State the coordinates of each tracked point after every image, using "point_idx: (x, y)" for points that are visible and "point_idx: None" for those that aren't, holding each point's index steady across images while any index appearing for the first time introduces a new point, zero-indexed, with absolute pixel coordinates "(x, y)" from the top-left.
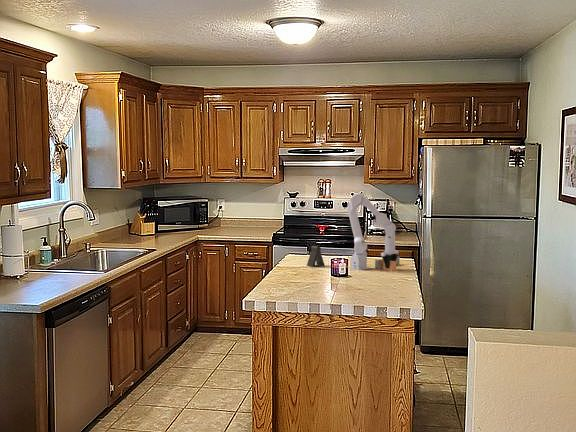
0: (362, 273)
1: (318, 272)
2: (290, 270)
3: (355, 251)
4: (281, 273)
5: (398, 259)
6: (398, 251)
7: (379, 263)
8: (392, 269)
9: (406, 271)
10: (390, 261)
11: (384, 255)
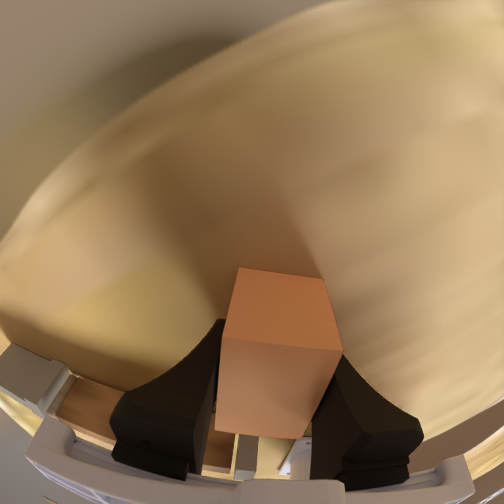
0: (500, 368)
1: (481, 451)
2: None
3: None
4: (496, 463)
5: (1, 366)
6: (32, 448)
7: (222, 442)
8: (315, 286)
9: (238, 116)
10: (264, 394)
11: (454, 466)
